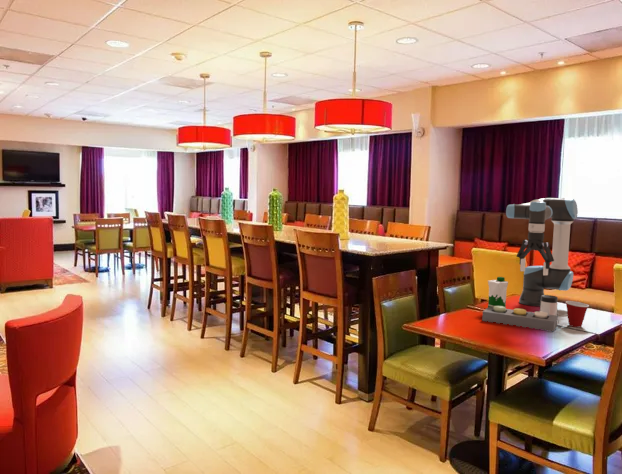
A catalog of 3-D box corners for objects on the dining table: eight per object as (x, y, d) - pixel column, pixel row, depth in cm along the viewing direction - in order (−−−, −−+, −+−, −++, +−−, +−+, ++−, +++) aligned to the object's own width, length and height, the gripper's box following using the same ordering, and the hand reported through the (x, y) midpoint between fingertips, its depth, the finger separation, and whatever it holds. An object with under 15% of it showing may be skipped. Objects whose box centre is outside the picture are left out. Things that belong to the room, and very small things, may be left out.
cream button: (535, 314, 256) (535, 310, 256) (548, 316, 253) (548, 312, 253) (533, 316, 251) (533, 312, 251) (546, 318, 248) (546, 314, 248)
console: (488, 315, 273) (489, 306, 272) (557, 325, 254) (557, 315, 254) (482, 320, 261) (482, 311, 261) (553, 331, 243) (554, 321, 242)
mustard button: (514, 311, 261) (514, 307, 261) (527, 313, 258) (527, 309, 258) (512, 313, 256) (512, 310, 256) (524, 315, 253) (525, 311, 253)
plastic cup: (590, 329, 248) (592, 305, 247) (567, 327, 250) (569, 304, 249) (583, 323, 259) (585, 301, 257) (561, 322, 261) (562, 299, 260)
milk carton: (508, 313, 277) (510, 278, 275) (496, 315, 273) (497, 279, 272) (496, 310, 285) (498, 275, 283) (484, 311, 281) (486, 276, 279)
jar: (559, 318, 268) (561, 297, 267) (552, 321, 263) (554, 299, 261) (543, 315, 275) (544, 294, 274) (536, 317, 270) (537, 296, 268)
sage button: (495, 308, 267) (495, 305, 267) (506, 310, 264) (506, 306, 263) (492, 311, 262) (492, 307, 262) (504, 312, 259) (504, 309, 258)
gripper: (511, 230, 263) (508, 269, 264) (553, 234, 241) (550, 277, 243) (520, 229, 266) (518, 269, 268) (563, 233, 244) (560, 276, 246)
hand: (533, 273), depth 255 cm, fingers open, 13 cm apart
